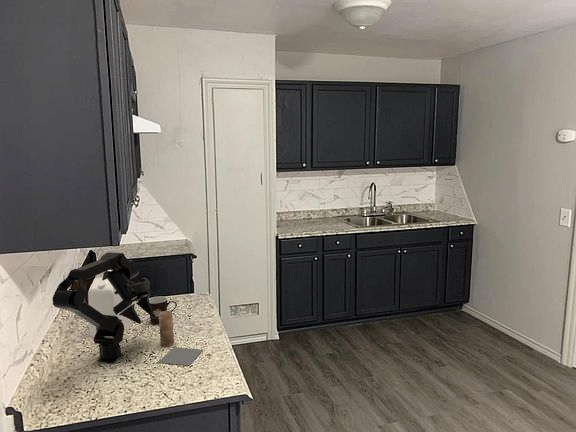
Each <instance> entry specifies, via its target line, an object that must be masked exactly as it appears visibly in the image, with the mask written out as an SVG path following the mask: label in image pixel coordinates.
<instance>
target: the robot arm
mask: <svg viewBox="0 0 576 432" xmlns="http://www.w3.org/2000/svg"><path fill="white" fill-rule="evenodd" d="M107 270H112V271H107ZM105 271H106V272H105ZM103 272H104V273H103ZM101 273H103V278H102V280H106V279H108V281H109V282H110V283H111V285H112V286H113V287H114V289H115V290H116V292H114V293H115V295H116V294H119V296H120V297H121V299H122V301H121V302H120V303H119V304H117V305H116V306H115V307H113V311H114V313H115V314H116V315H117V314H118V313H120V312H122V313H120V314H119V315H122V316H124V317H126V318H128V319H130V321H133V322H134V323H136V324H137V325H138V324H139V325H140V324H142V320H141V318H140V316H139V315H138V312H137V311H136V310H135V307H136V306H135V304H136V305H137V306H139V308H140V309H142V310H143V311H144V312H145V313H147V314H148V315H149V316H150V315H152V314H153V312H152V309H151V306H150V303H149V299H150V296H151V292H152V290H151V287H150V284H151V281H149V279H148V278H147V277H142V278H141V279H140V280H139V281H138V282H137V283H135V281H134V280H131V279H134V278H135V277H137V276H138V275H139V274H140V273H141V271H140V267H139V266H138V264H137V263H136V262H135V260H134V259H128V258H127V257H126V256H125V254H124V253H123V252H106V253H104V254H103V255H102V256H100V258H99V259H98V260H96V261H93V262H90V263H88V264H86V265H82V266H80V267H77V268H73V269H71V270H70V271H69V273H68V274H67V276H66V278H64V279H63V280H62V281H61V282H60V283H59V284H58V286H57V288H56V290H54V291H55V292H54V294H53V296H52V306H53V307H55V308H57V309H59V310H63V311H64V310H65V311H69V312H73V313H74V314H76V315H77V316H79V317H80V318H82V319H83V320H84V321H86V322H88V323H91V324H92V325H94V326H96V331H97V332H96V334H95V336H93V342H94V344H95V345H98V349H99V351H98V352H99V358H98V359H97V362H102V363H108V364H109V363H110V364H113V363H115V362H116V361H117V360H119V359H120V358H122V356H123V355H124V353H123V352H122V348H121V345H120V343H122V342H123V340H124V333H125V331H124V326H123V325H124V324H123V323H122V322H121V321H122V320H120V319H119V318H118V317H117V316H112V315H103V314H102V313H100V312H99V311H97V310H96V309H94V308H93V307H92V306H90V305H89V303H87V302H86V297H85V295H86V294H87V281H88V279H91V278H93V277H96V275H98V274H101ZM130 280H131V281H130ZM75 282H77V283H78V288H77V290H74V289H73V290H72V289H70V288H71V287H72V286H73V285H74V284H75ZM134 302H136V303H134ZM107 336H108V337H107Z"/></svg>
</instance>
